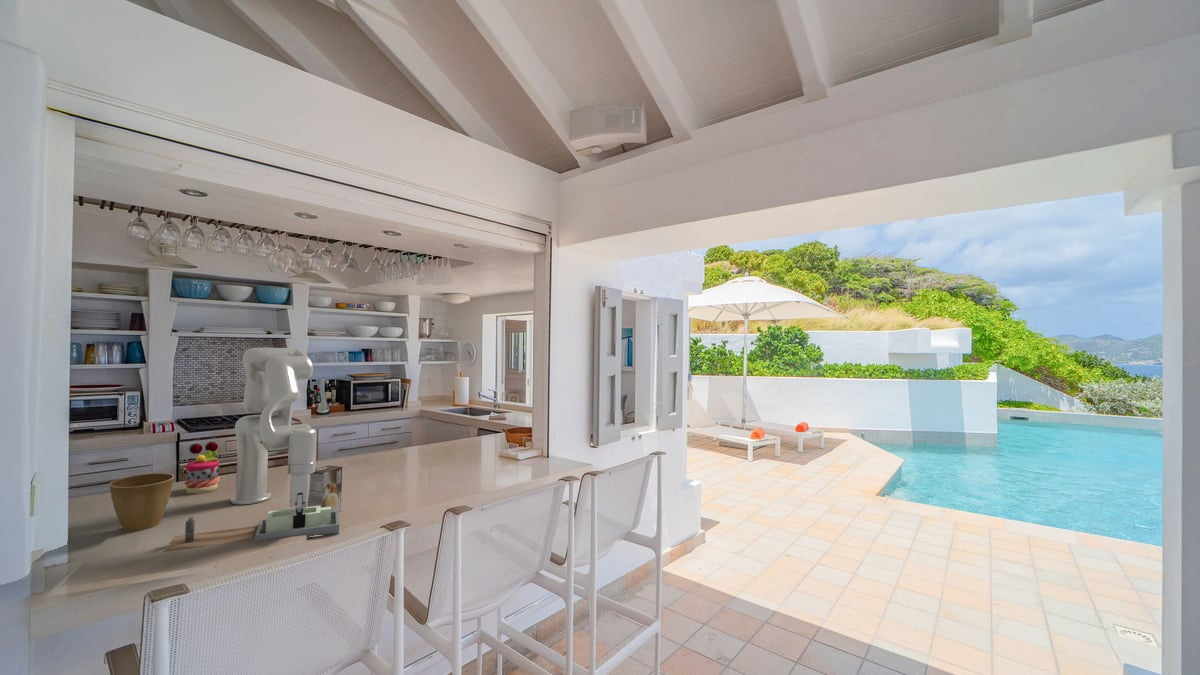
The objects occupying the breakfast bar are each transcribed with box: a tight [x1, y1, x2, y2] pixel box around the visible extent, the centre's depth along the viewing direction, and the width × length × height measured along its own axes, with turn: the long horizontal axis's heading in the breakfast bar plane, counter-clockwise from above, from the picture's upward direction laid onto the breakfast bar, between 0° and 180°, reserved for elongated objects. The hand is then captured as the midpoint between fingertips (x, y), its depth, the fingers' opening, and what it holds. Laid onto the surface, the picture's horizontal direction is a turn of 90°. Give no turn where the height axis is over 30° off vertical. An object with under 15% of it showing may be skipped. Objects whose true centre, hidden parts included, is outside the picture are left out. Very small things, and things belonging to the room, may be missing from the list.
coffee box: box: [307, 465, 343, 513], centre depth 174 cm, size 9×6×16 cm
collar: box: [265, 506, 331, 533], centre depth 158 cm, size 7×17×4 cm, turn 119°
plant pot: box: [109, 472, 175, 532], centre depth 155 cm, size 15×15×16 cm
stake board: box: [163, 516, 257, 553], centre depth 148 cm, size 12×20×8 cm, turn 119°
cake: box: [183, 449, 221, 495], centre depth 196 cm, size 10×11×15 cm
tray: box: [254, 511, 340, 542], centre depth 158 cm, size 14×22×3 cm, turn 119°
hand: (299, 522), depth 158 cm, fingers closed on collar, 7 cm apart
